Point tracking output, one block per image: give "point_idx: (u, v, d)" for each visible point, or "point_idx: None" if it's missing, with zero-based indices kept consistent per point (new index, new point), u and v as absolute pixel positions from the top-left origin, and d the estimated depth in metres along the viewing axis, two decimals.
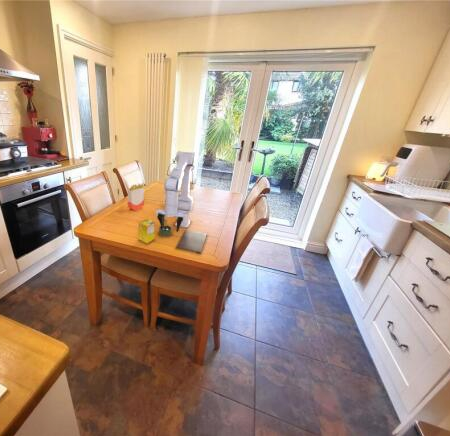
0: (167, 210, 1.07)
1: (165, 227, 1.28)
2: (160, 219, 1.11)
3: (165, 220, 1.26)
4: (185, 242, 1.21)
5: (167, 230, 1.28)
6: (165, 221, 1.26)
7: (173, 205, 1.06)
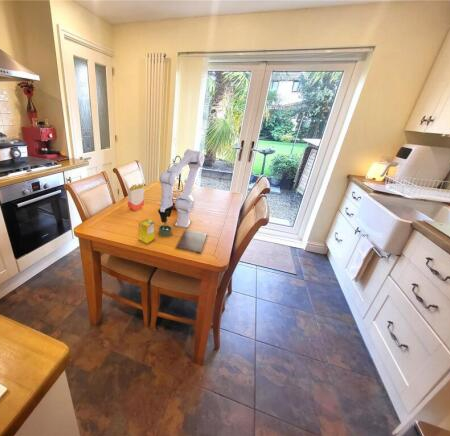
0: None
1: (165, 227, 1.28)
2: None
3: None
4: (185, 242, 1.21)
5: (167, 230, 1.28)
6: None
7: (166, 196, 1.17)
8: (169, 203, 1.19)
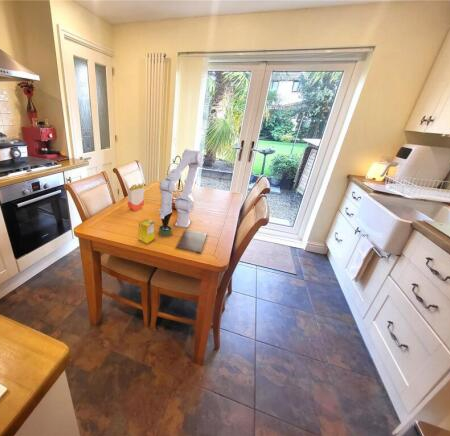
0: None
1: (165, 227, 1.28)
2: None
3: None
4: (185, 242, 1.21)
5: (167, 230, 1.28)
6: None
7: (166, 204, 1.19)
8: (168, 210, 1.21)
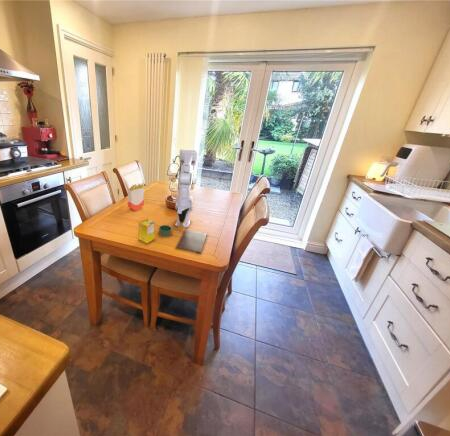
0: None
1: (181, 223, 1.22)
2: None
3: None
4: (185, 242, 1.21)
5: (184, 226, 1.22)
6: None
7: (187, 198, 1.14)
8: (186, 205, 1.16)
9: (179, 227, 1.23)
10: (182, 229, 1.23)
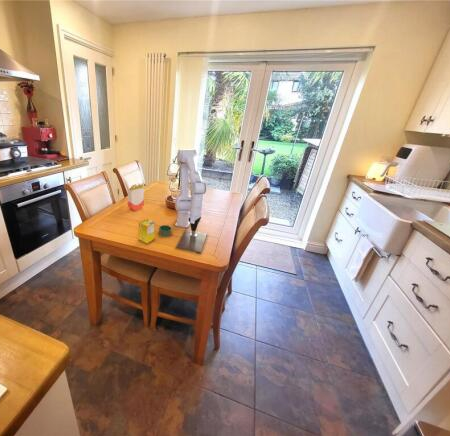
0: None
1: (193, 233, 1.21)
2: None
3: None
4: (185, 242, 1.21)
5: (195, 236, 1.21)
6: None
7: (200, 207, 1.14)
8: (199, 214, 1.15)
9: (191, 237, 1.22)
10: (194, 239, 1.22)
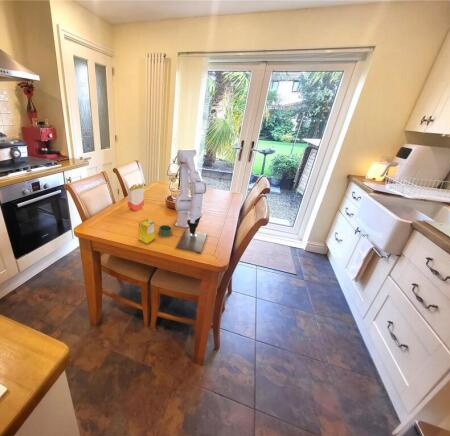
0: None
1: None
2: None
3: None
4: (185, 242, 1.21)
5: (195, 236, 1.22)
6: None
7: (201, 206, 1.14)
8: (199, 214, 1.15)
9: (191, 238, 1.22)
10: (194, 240, 1.22)
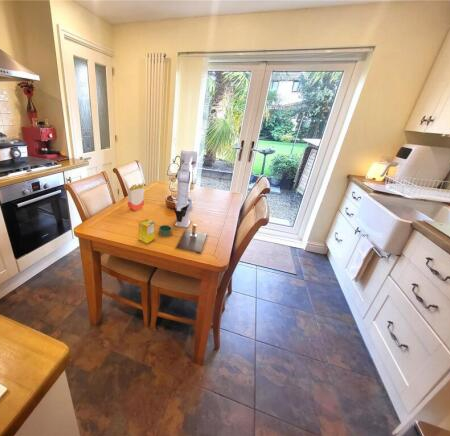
0: None
1: (193, 233, 1.21)
2: None
3: (194, 226, 1.20)
4: (185, 242, 1.21)
5: (195, 236, 1.22)
6: (194, 227, 1.20)
7: (185, 195, 1.17)
8: (185, 202, 1.19)
9: (191, 238, 1.22)
10: (194, 240, 1.22)
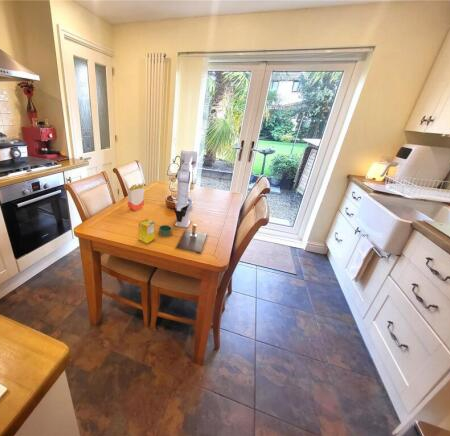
0: None
1: (193, 233, 1.21)
2: None
3: (194, 226, 1.20)
4: (185, 242, 1.21)
5: (195, 236, 1.22)
6: (194, 227, 1.20)
7: (185, 195, 1.17)
8: (185, 202, 1.19)
9: (191, 238, 1.22)
10: (194, 240, 1.22)
